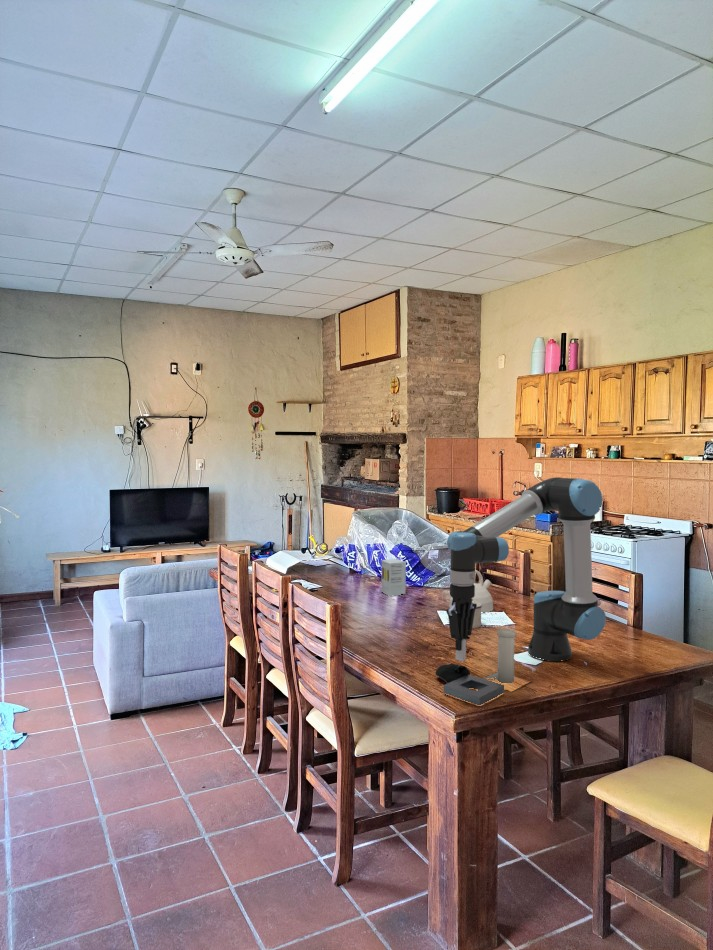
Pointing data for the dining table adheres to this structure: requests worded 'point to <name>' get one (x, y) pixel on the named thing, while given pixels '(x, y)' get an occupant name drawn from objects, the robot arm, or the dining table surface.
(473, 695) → the housing
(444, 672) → the rock
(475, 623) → the teacup with lid
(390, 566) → the supplement box
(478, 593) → the kettle
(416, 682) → the dining table surface
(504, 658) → the cream upright pillar
